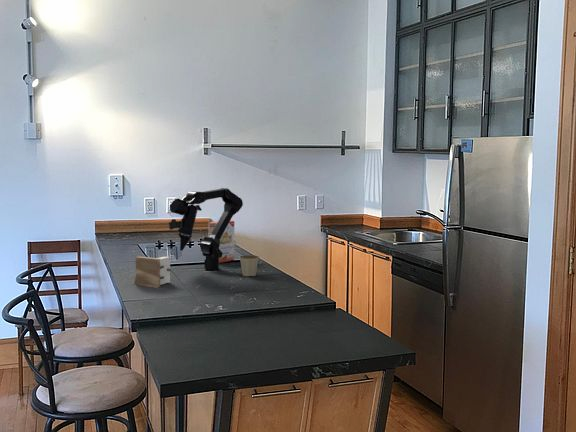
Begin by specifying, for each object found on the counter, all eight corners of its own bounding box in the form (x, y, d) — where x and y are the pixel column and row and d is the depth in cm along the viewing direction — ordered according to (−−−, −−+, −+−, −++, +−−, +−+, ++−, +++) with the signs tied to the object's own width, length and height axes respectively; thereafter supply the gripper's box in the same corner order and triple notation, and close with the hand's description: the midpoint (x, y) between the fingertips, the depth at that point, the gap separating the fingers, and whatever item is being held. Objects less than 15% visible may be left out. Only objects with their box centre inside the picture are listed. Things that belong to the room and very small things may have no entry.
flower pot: (256, 277, 292) (256, 258, 291) (236, 276, 294) (236, 258, 293) (261, 273, 302) (261, 255, 301) (242, 272, 303) (242, 254, 302)
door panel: (164, 281, 281) (164, 256, 280) (172, 282, 279) (172, 257, 278) (152, 284, 274) (152, 259, 273) (160, 285, 272) (160, 260, 271)
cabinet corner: (154, 278, 290) (153, 251, 289) (179, 281, 283) (179, 254, 282) (131, 284, 277) (131, 256, 275) (157, 287, 270) (156, 259, 269)
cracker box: (216, 264, 325) (216, 223, 322) (207, 262, 328) (207, 222, 326) (235, 260, 336) (235, 220, 334) (226, 259, 339) (226, 219, 337)
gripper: (172, 215, 307) (164, 247, 305) (171, 211, 288) (162, 245, 286) (195, 221, 308) (188, 252, 306) (195, 217, 289) (187, 251, 287)
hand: (181, 250), depth 296 cm, fingers closed
